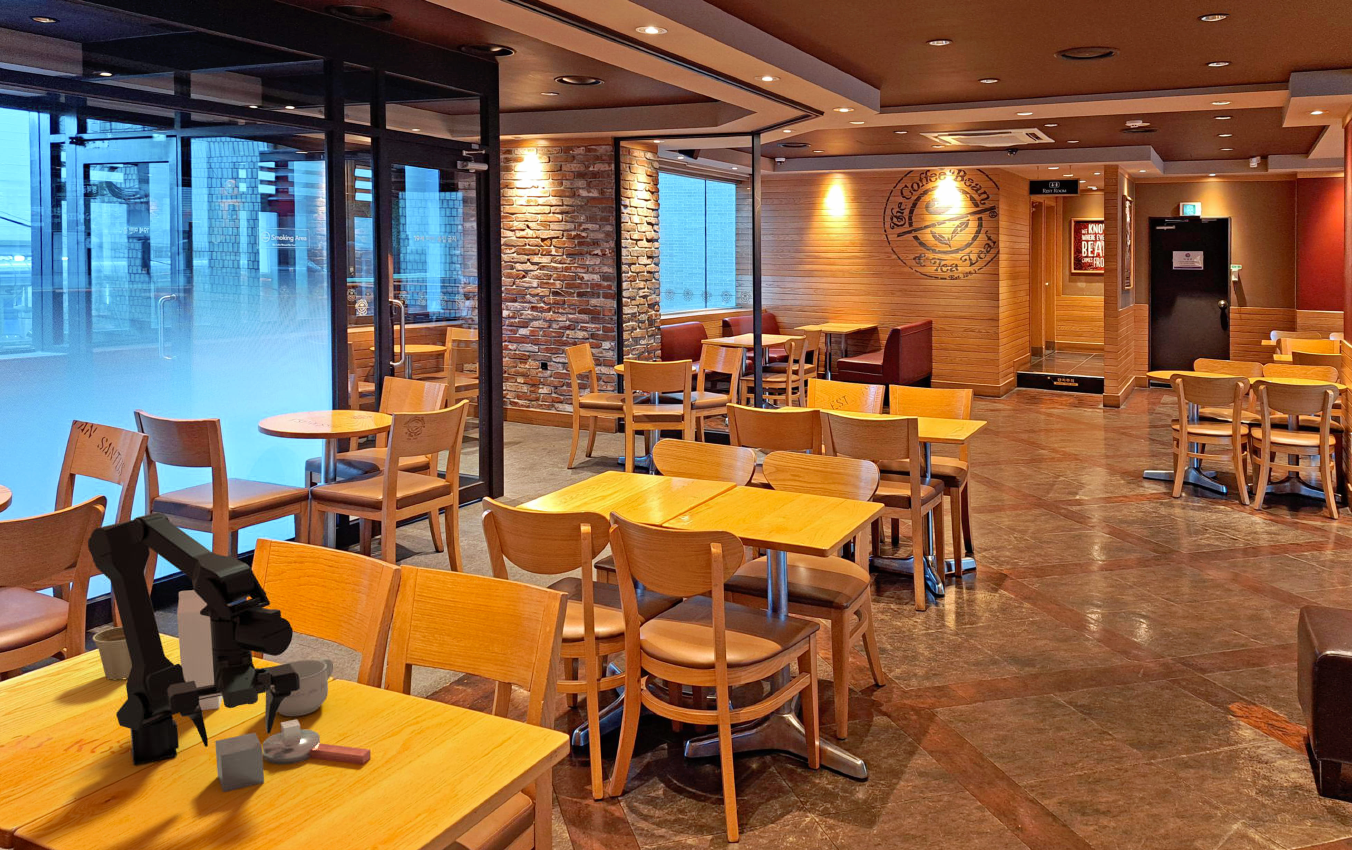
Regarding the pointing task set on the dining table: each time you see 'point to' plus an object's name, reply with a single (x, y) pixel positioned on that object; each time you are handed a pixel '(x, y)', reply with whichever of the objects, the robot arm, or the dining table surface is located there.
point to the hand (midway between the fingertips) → (237, 739)
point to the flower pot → (114, 653)
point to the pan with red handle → (307, 747)
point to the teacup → (308, 687)
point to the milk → (196, 645)
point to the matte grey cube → (239, 762)
